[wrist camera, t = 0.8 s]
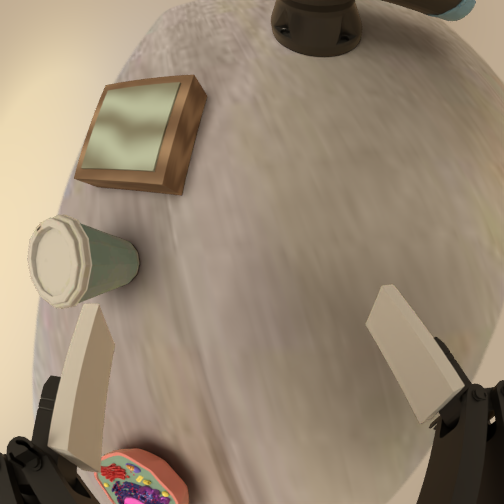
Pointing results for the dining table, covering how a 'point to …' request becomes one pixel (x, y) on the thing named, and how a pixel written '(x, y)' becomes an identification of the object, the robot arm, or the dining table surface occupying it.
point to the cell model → (140, 479)
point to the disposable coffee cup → (77, 261)
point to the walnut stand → (143, 135)
